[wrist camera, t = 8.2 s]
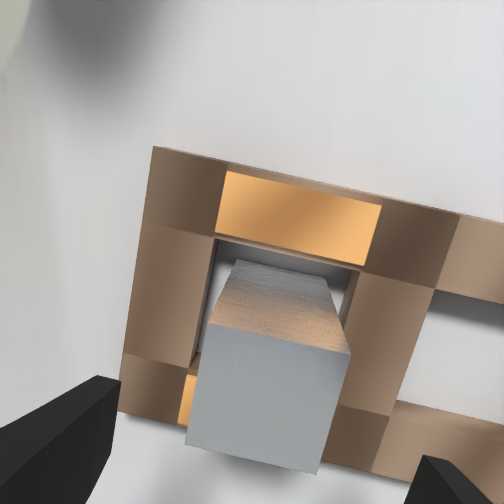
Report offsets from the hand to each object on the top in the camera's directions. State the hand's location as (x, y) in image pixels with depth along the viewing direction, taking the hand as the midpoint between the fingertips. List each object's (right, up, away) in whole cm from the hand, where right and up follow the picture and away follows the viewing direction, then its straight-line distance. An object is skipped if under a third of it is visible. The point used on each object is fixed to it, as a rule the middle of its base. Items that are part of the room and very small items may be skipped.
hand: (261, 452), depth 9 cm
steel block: (+1, +2, +9) cm, 9 cm away
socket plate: (+5, +1, +9) cm, 10 cm away
